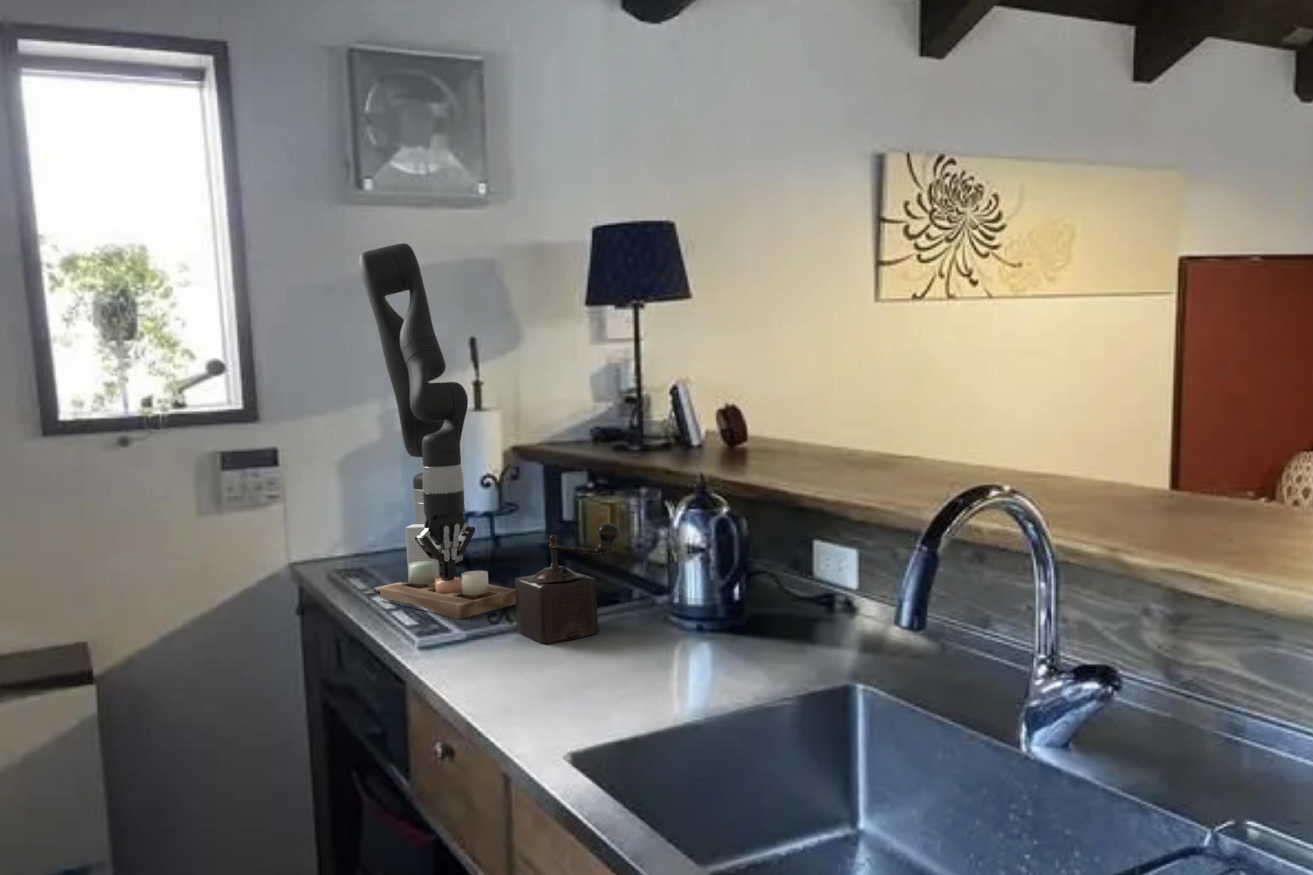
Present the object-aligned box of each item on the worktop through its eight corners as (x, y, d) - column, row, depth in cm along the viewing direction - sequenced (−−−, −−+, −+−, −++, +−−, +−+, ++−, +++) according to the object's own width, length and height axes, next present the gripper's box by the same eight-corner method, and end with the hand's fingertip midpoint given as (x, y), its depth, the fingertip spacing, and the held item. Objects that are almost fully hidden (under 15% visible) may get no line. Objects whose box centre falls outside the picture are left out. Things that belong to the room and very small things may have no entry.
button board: (439, 587, 213) (439, 574, 213) (519, 603, 197) (518, 590, 197) (380, 601, 202) (379, 588, 202) (459, 619, 187) (459, 605, 187)
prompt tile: (399, 586, 215) (399, 582, 215) (417, 589, 211) (417, 585, 211) (374, 591, 211) (374, 587, 211) (392, 595, 207) (391, 591, 207)
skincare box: (443, 580, 219) (440, 523, 218) (436, 584, 215) (433, 526, 214) (414, 580, 220) (411, 523, 219) (407, 585, 216) (404, 527, 215)
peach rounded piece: (451, 593, 203) (450, 575, 203) (467, 597, 200) (466, 578, 200) (430, 598, 200) (429, 580, 199) (446, 602, 196) (445, 583, 196)
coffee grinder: (546, 646, 168) (541, 535, 166) (514, 632, 177) (510, 526, 176) (628, 629, 177) (624, 523, 175) (594, 616, 186) (590, 515, 184)
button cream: (477, 587, 198) (476, 569, 197) (494, 591, 195) (493, 572, 194) (456, 592, 194) (456, 574, 194) (473, 596, 191) (472, 577, 191)
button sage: (425, 577, 208) (424, 560, 208) (440, 580, 205) (439, 562, 205) (404, 582, 205) (403, 564, 204) (419, 585, 201) (418, 567, 201)
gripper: (458, 483, 205) (462, 571, 207) (401, 491, 195) (406, 584, 197) (483, 485, 200) (487, 575, 202) (426, 494, 191) (431, 589, 192)
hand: (447, 579), depth 199 cm, fingers closed
